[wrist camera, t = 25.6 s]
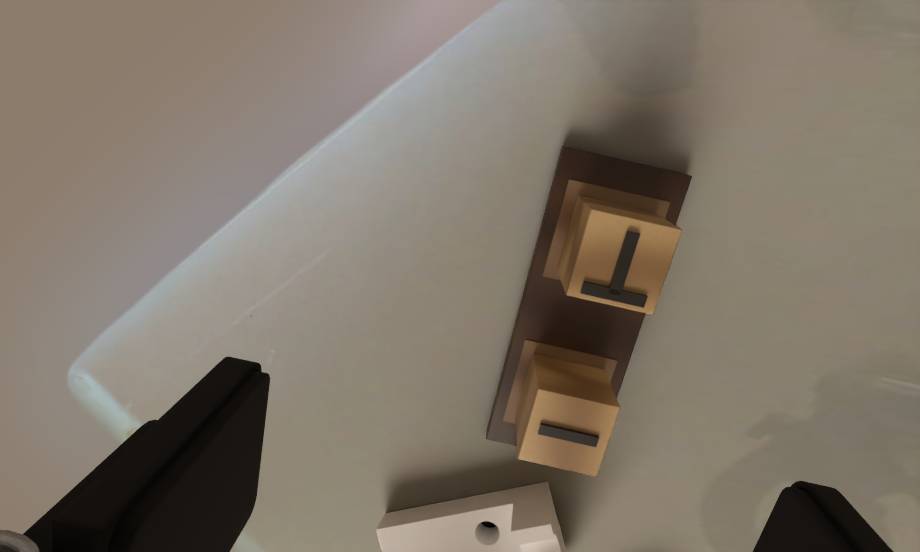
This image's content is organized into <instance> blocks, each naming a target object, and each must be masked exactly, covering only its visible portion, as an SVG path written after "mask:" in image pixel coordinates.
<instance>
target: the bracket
mask: <svg viewBox="0 0 920 552" xmlns="http://www.w3.org/2000/svg"><path fill="white" fill-rule="evenodd" d="M484 521H489V522H492V523H494V524H495V525H496V527H493V528H488V527H485V526H484V525H482V524H481V522H484ZM376 531H377V535H378V539H379V543H380V547H381V551H382V552H566V548H565V544H564V540H563V536H562V532H561V528H560V524H559V521H558V520H557V516H556V512H555V508H554V504H553V500H552V496H551V492H550V488H549V484H548V482H543V483H537V484H532V485H527V486H522V487H517V488H512V489H507V490H502V491H497V492H492V493H486V494H481V495H476V496H471V497H466V498H461V499H456V500H451V501H446V502H440V503H435V504H430V505H425V506H420V507H415V508H410V509H405V510H400V511H394V512H389V513H385V515H384V517H383V518H382V520H381V522H380V524H379V525H378V527H377V529H376Z"/></svg>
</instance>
